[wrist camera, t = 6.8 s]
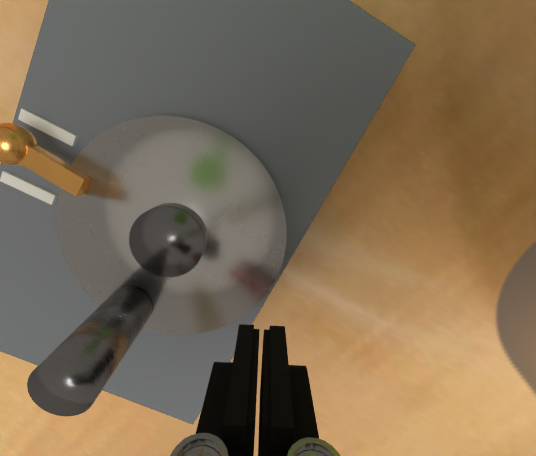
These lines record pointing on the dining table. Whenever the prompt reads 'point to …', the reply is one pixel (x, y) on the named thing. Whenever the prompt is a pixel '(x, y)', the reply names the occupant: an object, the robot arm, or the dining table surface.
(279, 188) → the stand
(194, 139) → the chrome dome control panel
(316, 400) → the dining table surface
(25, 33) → the dining table surface
